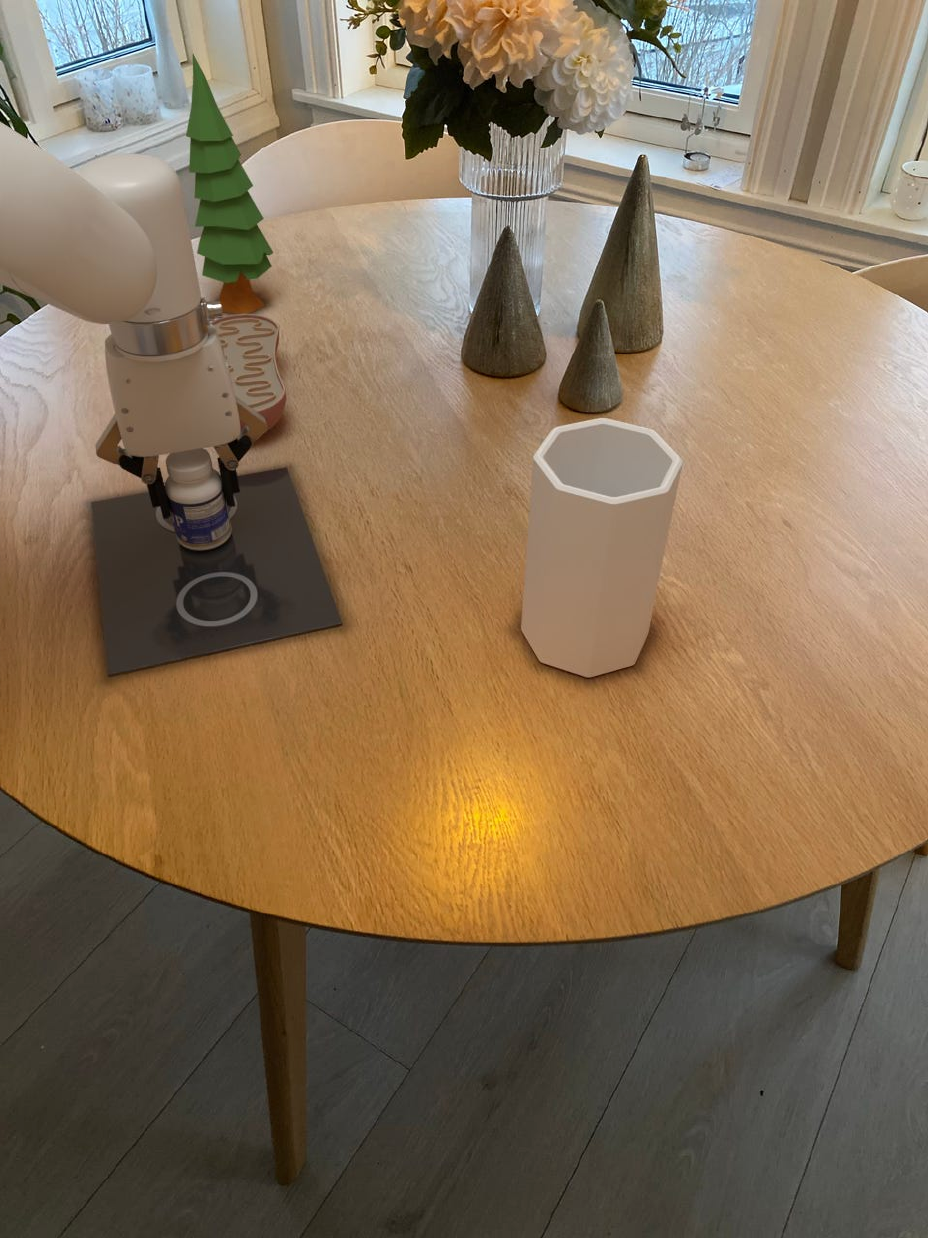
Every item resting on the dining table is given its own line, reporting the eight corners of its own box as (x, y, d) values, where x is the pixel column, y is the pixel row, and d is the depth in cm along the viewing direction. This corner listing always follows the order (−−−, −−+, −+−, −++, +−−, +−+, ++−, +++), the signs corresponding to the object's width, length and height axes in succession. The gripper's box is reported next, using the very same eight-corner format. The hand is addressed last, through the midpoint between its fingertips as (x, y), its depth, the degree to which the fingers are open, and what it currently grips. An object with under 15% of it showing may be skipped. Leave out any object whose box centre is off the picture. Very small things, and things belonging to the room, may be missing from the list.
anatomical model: (293, 449, 104) (287, 409, 101) (200, 458, 103) (191, 418, 100) (282, 348, 121) (277, 310, 117) (201, 354, 119) (194, 316, 116)
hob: (108, 676, 80) (107, 673, 80) (91, 504, 97) (90, 500, 97) (342, 625, 85) (342, 621, 84) (287, 469, 102) (286, 465, 101)
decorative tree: (212, 290, 132) (168, 42, 111) (281, 287, 133) (250, 41, 112) (206, 323, 125) (158, 65, 104) (279, 320, 126) (245, 64, 105)
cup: (520, 588, 88) (532, 414, 76) (641, 591, 88) (673, 417, 75) (521, 677, 80) (535, 499, 68) (654, 681, 80) (693, 503, 67)
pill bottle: (172, 525, 94) (153, 448, 88) (225, 513, 95) (210, 436, 89) (182, 557, 90) (163, 479, 84) (238, 544, 92) (223, 467, 86)
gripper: (256, 290, 82) (280, 467, 95) (46, 317, 78) (101, 497, 91) (271, 329, 77) (295, 511, 90) (48, 360, 73) (106, 545, 86)
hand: (197, 502), depth 90 cm, fingers closed on pill bottle, 5 cm apart
